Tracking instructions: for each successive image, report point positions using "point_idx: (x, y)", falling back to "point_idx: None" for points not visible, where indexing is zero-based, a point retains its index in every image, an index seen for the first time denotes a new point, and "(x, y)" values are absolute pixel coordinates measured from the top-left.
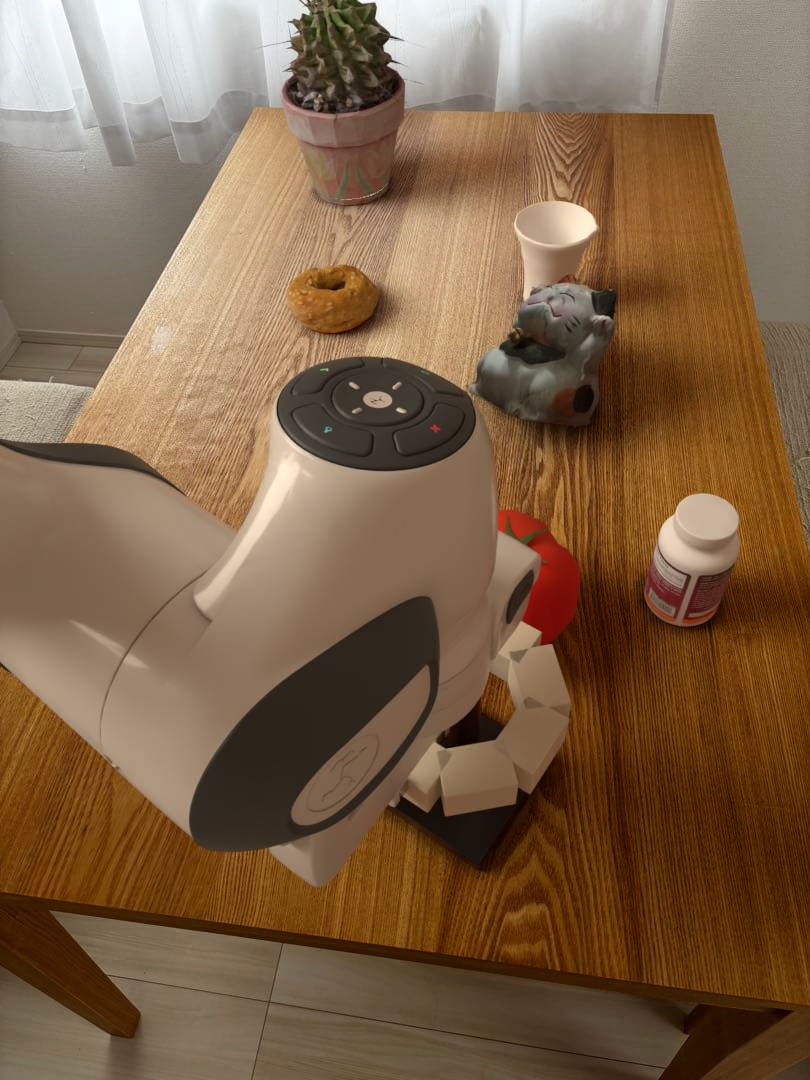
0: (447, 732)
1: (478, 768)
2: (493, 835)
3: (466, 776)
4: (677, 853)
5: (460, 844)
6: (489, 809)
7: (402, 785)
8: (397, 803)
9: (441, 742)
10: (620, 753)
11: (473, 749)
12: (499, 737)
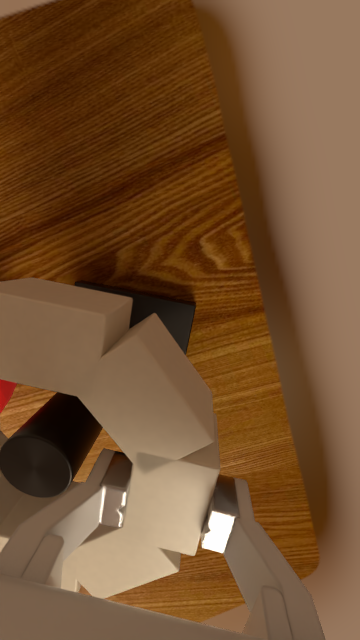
0: (104, 458)
1: (140, 408)
2: (166, 302)
3: (163, 421)
4: (106, 136)
5: (185, 325)
6: (146, 314)
7: (228, 515)
8: (241, 483)
9: (123, 456)
10: (44, 220)
11: (112, 425)
12: (69, 393)
